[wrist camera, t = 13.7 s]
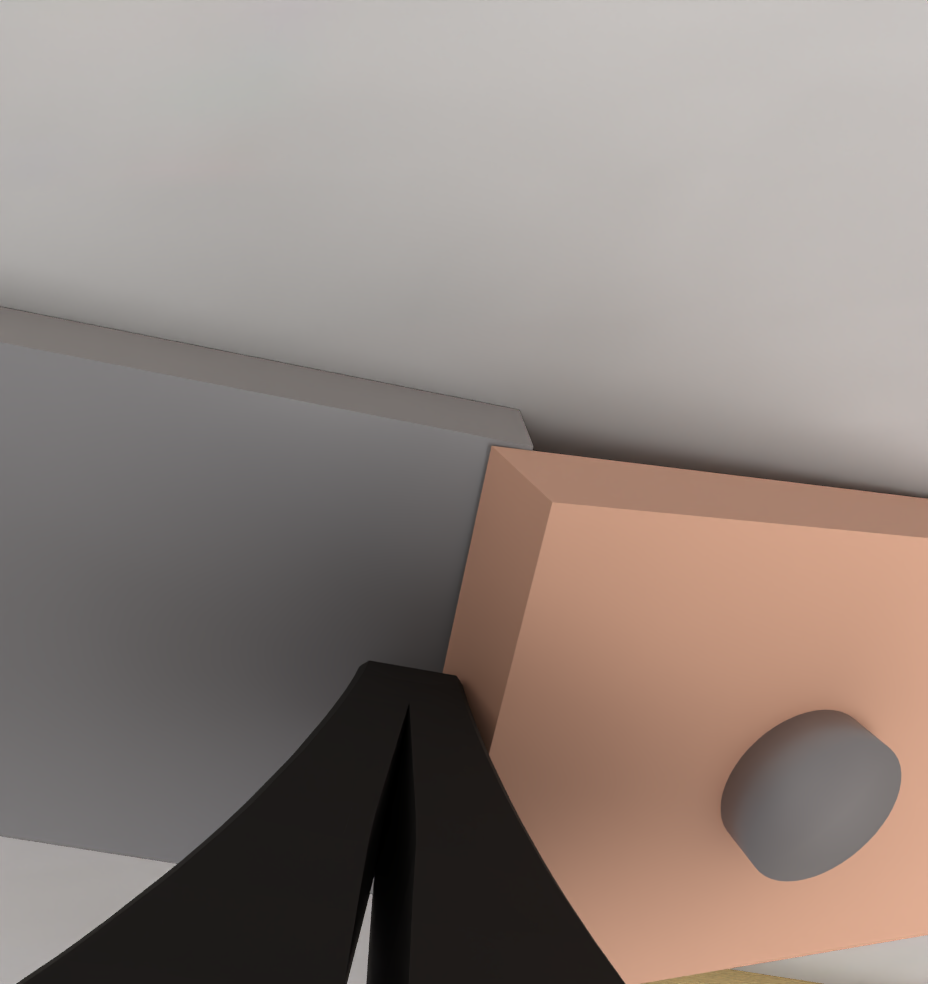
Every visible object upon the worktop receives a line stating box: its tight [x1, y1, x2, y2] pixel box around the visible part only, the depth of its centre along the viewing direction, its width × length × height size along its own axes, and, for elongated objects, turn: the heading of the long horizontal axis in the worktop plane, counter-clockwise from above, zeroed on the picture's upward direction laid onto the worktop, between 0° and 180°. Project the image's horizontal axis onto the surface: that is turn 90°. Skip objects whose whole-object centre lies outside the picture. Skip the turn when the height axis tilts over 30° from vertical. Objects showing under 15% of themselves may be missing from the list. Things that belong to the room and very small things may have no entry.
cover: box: [443, 446, 928, 984], centre depth 10 cm, size 8×10×3 cm
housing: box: [0, 307, 533, 894], centre depth 11 cm, size 8×10×2 cm
